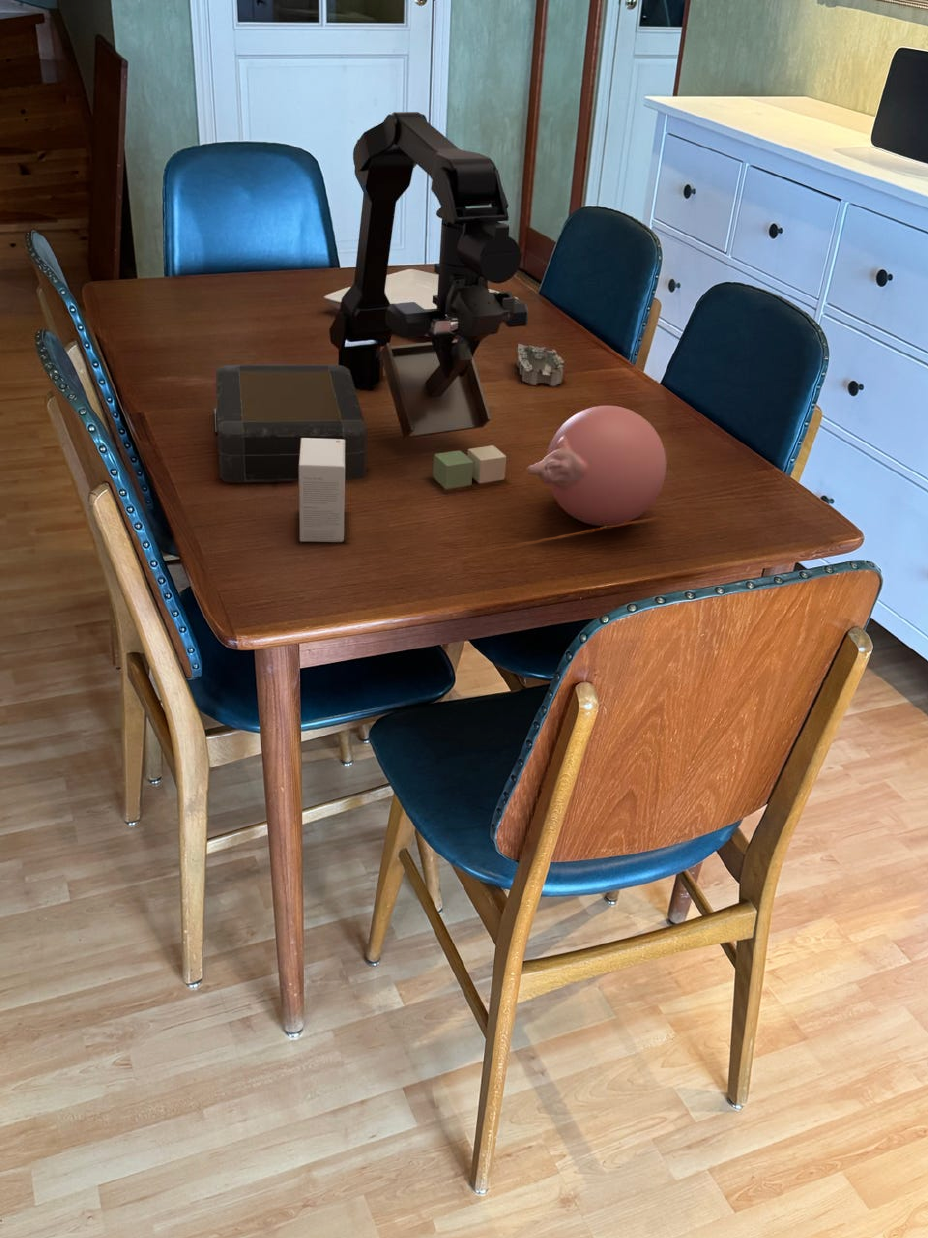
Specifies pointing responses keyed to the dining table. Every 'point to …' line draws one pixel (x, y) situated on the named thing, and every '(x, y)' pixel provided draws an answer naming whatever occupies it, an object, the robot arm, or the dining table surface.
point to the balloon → (604, 466)
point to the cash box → (284, 419)
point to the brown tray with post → (434, 390)
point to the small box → (321, 490)
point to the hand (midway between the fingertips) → (453, 376)
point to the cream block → (487, 463)
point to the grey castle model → (539, 365)
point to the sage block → (452, 469)
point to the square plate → (405, 290)
